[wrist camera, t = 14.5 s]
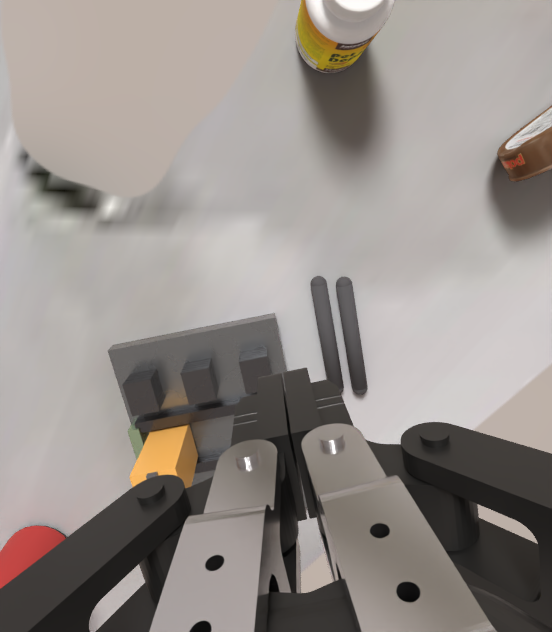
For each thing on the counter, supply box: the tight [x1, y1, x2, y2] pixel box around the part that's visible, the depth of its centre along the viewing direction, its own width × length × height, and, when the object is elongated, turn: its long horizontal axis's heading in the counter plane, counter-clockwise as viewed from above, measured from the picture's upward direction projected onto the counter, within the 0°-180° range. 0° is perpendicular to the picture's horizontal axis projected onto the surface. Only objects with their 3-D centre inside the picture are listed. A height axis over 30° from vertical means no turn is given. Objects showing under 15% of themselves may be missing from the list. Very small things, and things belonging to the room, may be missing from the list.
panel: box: [108, 313, 307, 508], centre depth 41 cm, size 15×20×4 cm
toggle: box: [130, 424, 198, 489], centre depth 37 cm, size 4×4×7 cm
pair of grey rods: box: [311, 276, 367, 394], centre depth 40 cm, size 4×12×1 cm, turn 11°
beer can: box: [0, 525, 66, 589], centre depth 40 cm, size 7×7×12 cm
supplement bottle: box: [295, 0, 395, 73], centre depth 29 cm, size 6×6×10 cm
